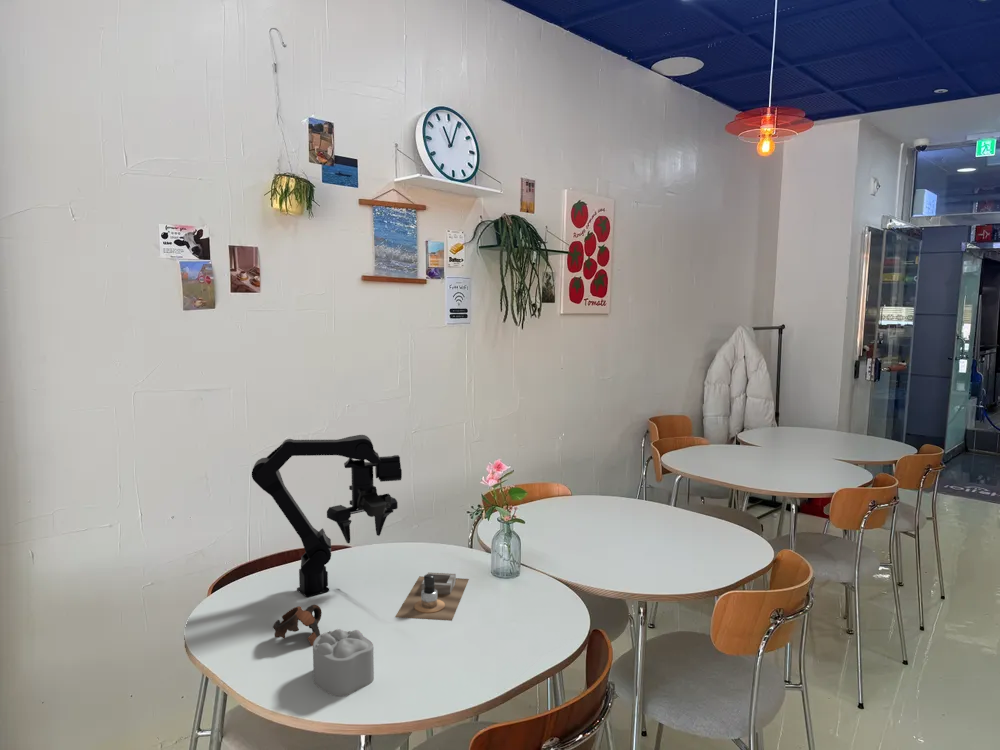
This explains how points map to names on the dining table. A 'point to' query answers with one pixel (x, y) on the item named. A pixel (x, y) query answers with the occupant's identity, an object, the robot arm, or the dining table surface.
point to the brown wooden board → (447, 598)
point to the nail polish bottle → (429, 592)
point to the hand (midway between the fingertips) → (363, 539)
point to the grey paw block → (342, 662)
